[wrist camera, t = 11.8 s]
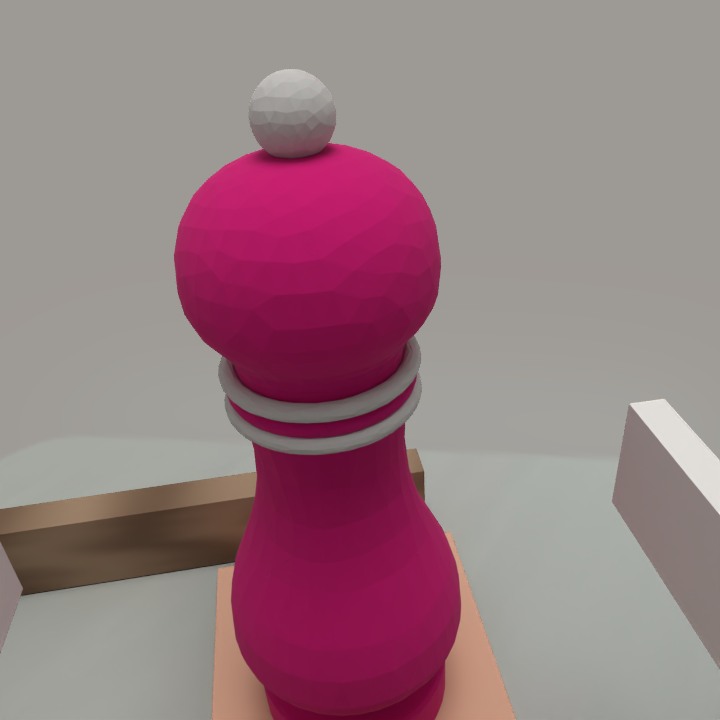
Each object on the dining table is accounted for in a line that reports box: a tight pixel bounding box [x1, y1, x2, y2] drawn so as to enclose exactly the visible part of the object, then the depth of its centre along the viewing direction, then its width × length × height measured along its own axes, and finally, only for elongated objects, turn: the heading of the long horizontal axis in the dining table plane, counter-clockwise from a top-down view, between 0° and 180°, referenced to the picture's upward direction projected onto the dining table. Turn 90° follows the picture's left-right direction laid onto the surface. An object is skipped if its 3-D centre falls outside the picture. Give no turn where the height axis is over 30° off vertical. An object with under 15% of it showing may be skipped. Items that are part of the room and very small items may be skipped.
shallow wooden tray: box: [0, 449, 425, 595], centre depth 23 cm, size 22×16×4 cm
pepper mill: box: [174, 69, 461, 720], centre depth 19 cm, size 7×7×20 cm
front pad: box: [212, 532, 516, 720], centre depth 24 cm, size 10×12×1 cm
